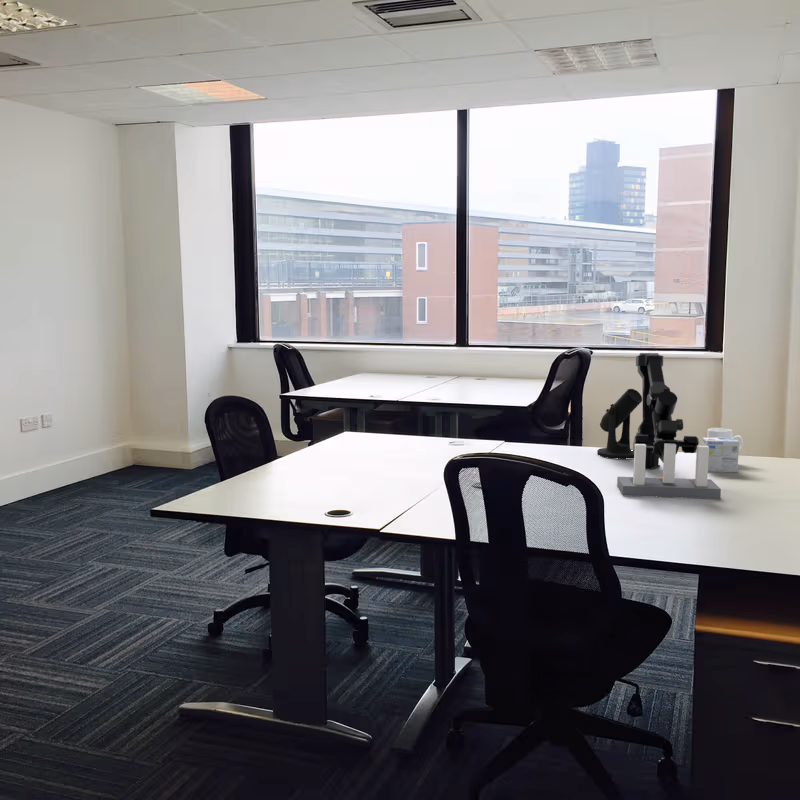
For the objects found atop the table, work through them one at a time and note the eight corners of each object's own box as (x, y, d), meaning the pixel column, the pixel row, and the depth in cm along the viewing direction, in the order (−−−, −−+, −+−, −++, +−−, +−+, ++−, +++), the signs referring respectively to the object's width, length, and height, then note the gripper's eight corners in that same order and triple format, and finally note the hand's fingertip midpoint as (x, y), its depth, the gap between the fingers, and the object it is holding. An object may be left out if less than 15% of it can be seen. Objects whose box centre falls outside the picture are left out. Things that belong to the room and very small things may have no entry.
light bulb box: (732, 468, 286) (734, 437, 285) (738, 472, 280) (740, 441, 278) (700, 467, 287) (701, 436, 286) (705, 472, 281) (707, 440, 279)
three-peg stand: (617, 485, 261) (619, 438, 259) (710, 488, 258) (713, 440, 255) (622, 495, 249) (624, 446, 247) (720, 499, 246) (723, 448, 244)
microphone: (622, 461, 296) (625, 391, 292) (586, 453, 310) (589, 386, 307) (650, 457, 304) (654, 388, 300) (615, 448, 318) (617, 383, 315)
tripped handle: (662, 481, 253) (664, 443, 251) (672, 481, 253) (674, 443, 251) (663, 483, 251) (665, 444, 249) (674, 483, 251) (676, 444, 249)
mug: (703, 462, 296) (705, 430, 294) (708, 458, 303) (710, 426, 301) (740, 466, 290) (742, 433, 288) (743, 461, 297) (745, 429, 295)
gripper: (636, 408, 257) (640, 451, 247) (699, 410, 254) (705, 453, 245) (631, 429, 265) (635, 471, 256) (691, 431, 263) (698, 473, 254)
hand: (668, 467), depth 253 cm, fingers closed, pressing on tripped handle
